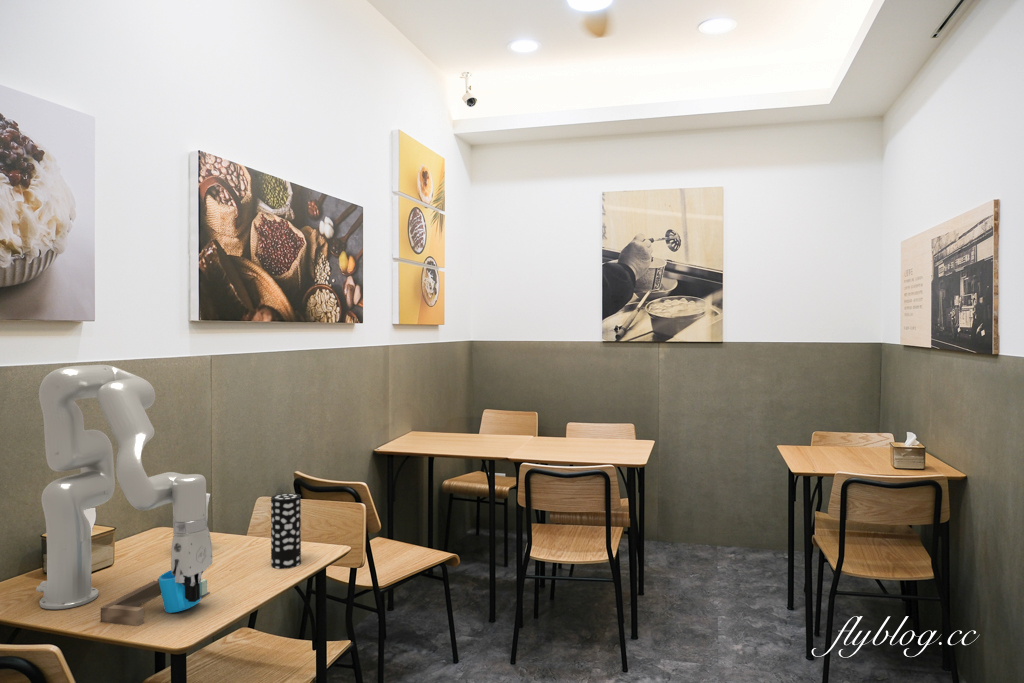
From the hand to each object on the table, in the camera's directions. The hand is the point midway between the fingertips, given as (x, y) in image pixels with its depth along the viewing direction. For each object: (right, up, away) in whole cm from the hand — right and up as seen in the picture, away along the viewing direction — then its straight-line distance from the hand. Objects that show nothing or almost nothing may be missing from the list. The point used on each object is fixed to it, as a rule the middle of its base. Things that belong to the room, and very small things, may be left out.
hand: (192, 600), depth 168 cm
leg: (-7, -2, +11) cm, 13 cm away
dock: (-10, -3, +3) cm, 10 cm away
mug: (-2, -2, 0) cm, 3 cm away
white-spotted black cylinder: (+12, -3, +34) cm, 36 cm away
